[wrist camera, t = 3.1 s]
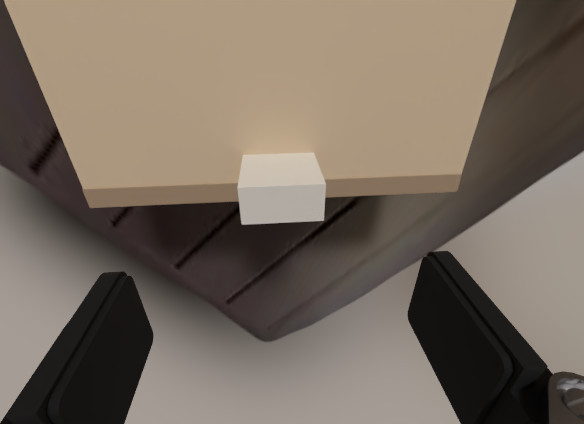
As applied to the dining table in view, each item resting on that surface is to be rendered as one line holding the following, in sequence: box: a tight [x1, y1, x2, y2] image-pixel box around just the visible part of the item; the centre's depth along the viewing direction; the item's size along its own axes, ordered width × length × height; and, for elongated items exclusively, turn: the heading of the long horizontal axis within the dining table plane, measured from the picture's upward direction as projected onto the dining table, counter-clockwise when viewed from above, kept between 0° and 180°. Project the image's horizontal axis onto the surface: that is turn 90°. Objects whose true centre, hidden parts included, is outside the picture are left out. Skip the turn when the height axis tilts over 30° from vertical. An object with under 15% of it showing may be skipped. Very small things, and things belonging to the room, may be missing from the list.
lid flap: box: [4, 0, 516, 225], centre depth 13 cm, size 22×16×5 cm
